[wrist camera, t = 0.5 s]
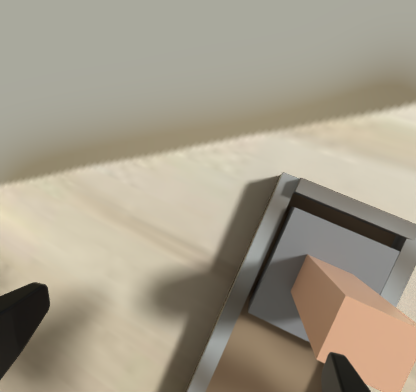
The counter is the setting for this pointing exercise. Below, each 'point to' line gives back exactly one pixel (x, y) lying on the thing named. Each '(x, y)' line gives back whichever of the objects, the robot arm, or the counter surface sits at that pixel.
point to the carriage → (337, 298)
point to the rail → (270, 334)
